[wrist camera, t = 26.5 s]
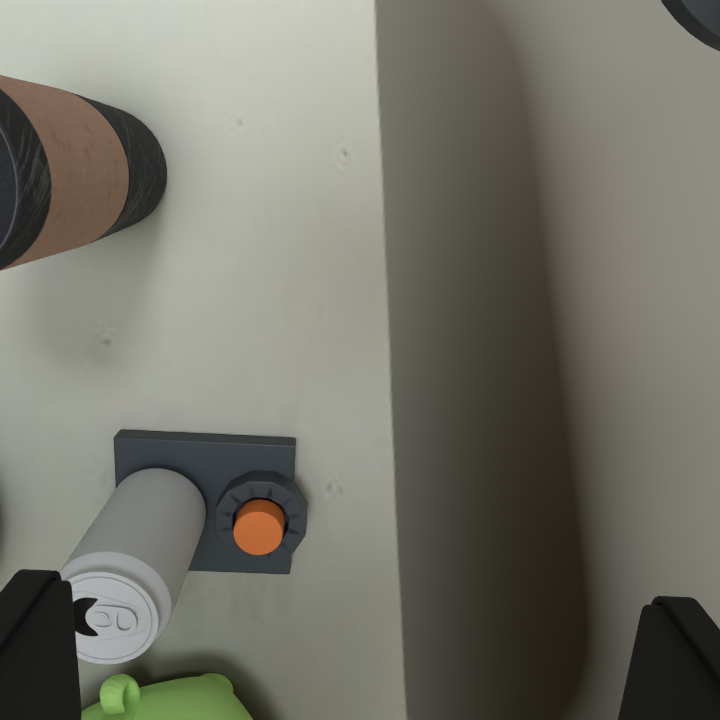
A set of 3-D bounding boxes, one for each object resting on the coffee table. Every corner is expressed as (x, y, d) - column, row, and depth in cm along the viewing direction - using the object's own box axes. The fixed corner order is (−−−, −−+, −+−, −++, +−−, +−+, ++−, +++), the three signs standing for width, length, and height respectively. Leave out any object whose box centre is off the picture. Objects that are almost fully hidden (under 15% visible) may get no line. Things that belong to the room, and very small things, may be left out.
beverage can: (114, 459, 45) (35, 562, 33) (210, 467, 45) (165, 571, 34) (114, 543, 47) (40, 668, 35) (207, 549, 47) (164, 675, 35)
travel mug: (134, 80, 39) (-61, 4, 20) (193, 202, 42) (67, 238, 22) (21, 133, 40) (-272, 107, 21) (84, 251, 42) (-129, 326, 23)
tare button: (285, 499, 45) (283, 513, 43) (284, 542, 46) (281, 556, 44) (237, 497, 44) (233, 511, 43) (236, 540, 45) (232, 554, 44)
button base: (311, 438, 46) (309, 456, 43) (305, 564, 49) (303, 589, 46) (120, 429, 46) (105, 447, 43) (125, 557, 48) (111, 582, 46)
